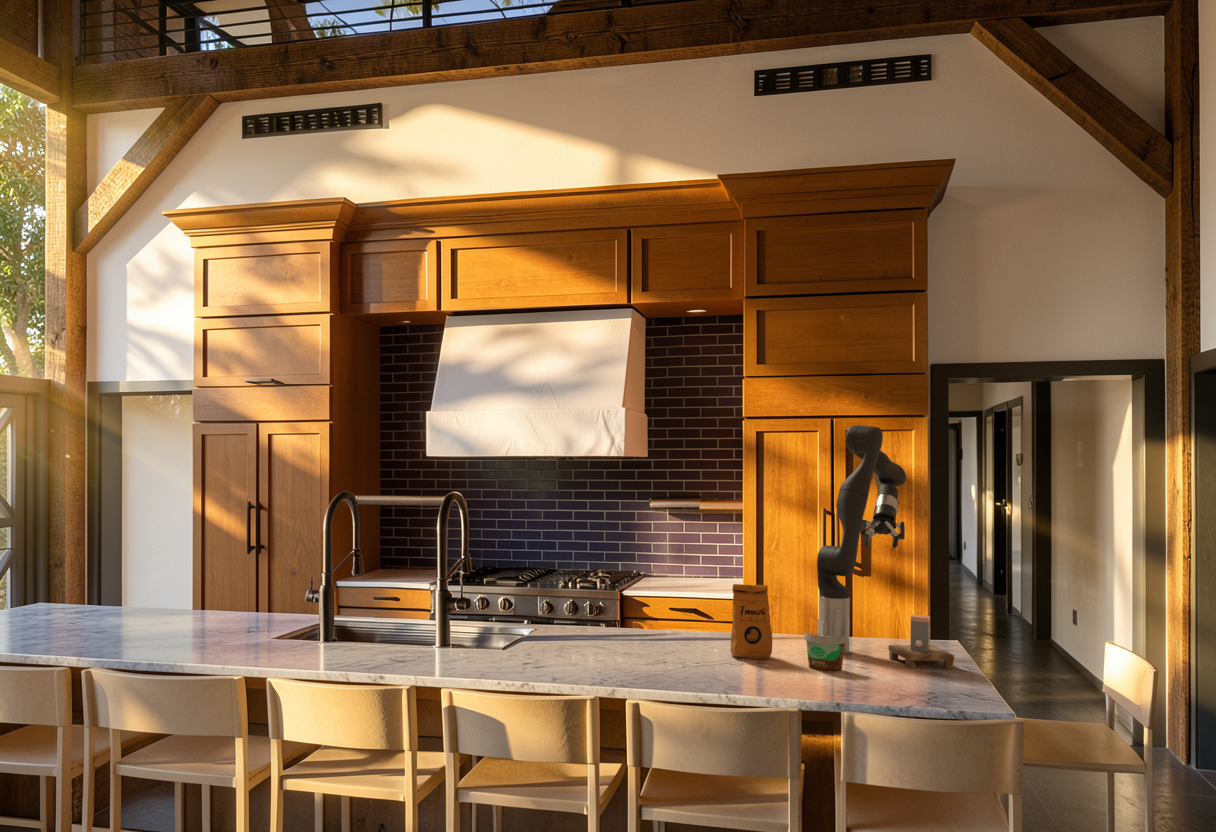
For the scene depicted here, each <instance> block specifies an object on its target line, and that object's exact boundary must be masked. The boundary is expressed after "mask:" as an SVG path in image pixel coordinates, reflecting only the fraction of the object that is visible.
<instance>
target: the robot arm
mask: <svg viewBox="0 0 1216 832" xmlns="http://www.w3.org/2000/svg"><path fill="white" fill-rule="evenodd" d="M883 438H884V435H883V430H882V429H881V428H880V427H878V426H874V425H873V426H870V425H858V424H857V425H852V426H849V428H848V429H847V430H846V434H845V440H844V441H845V445H846V448H847V449H848V450H849V451H850V452H851V453H852V454H854V455H855V456H857V457H858V458H859V459H860V460H861V461H860V463H859V465H858V466H857V467H856V468H855V470H854V471H853V472H851V474H850V475H848V476H847V477H846V479H845V480H843V482H842V483H841V485H840V487H839V490H838V494H837V495H838V496H837V499H836V503H835V504H836V505H835V506H836V507H835V508H836V512H837V514H838V518H839V521H840V524H841V527H842V538H841V543H840V546H838V545H827V544H826V545H823V546H821V548H819V550H818V553H817V557H816V558H817V559H816V569H817V570H816V571H817V572H816V573H817V574H816V575H817V576H816V577H817V587H818V590H819V618H818V619H817V621H816V624H817V625H816V626H817V628H816V629H817V630H816V631H817V632H816V635H829V636H833V637H837V636H844V635H845V637H846V639H847V643H845V645H844V654H843V655H846V654H850V610H851V609H850V608H851V607H850V603H851V602H850V600H851V599H850V598H851V596H850V595H851V594H850V588H848V587H847V586H845V585H844V584H842V583H841V582H840V580H839V579H838V577H848V576H849V577H850V576H851V575H852V573H853V572H854V570H855V567H856V563H857V558H858V557H857V556H858V550H859V549H858V548H859V541H860V540H859V539H860V537H861V538H864V542H863V543H864V546H866V548H868V547H870V541H871V538H872V537H876V535H885V536H886V535H890V537H891V538H892V549H896V548H898V545H899V540H903V541H904V540H905V536H906V535H905V534H906V533H905V531H906V526H905V522H904V521H901V522H900V523H899V522H898V523H897V522H896V521H897V515H898V498H899V489H898V488H897V487H900V486H903V485H904V484H905V483H906V481H907V474H906V471H905V470H904V468H903V467H902V466H901V465H899V464H897V463H895V462H894V461H892V460H891V459H890V458H889V456H888V455H887V454H886V453H885V452H883V451H882V445H883V441H884V439H883ZM873 475H874V479H875V483H876V488H877V493H876V494H877V495H876V499H875V503H874V509H873V516H872V519H871V521H867V520H866V519H864V515H865V511H866V508H867V504H868V499H869V494H870V489H871V484H872V480H873ZM896 528H898V531H899V532H900V533H898V532H897V531H896V530H895V529H896ZM867 529H868V530H867Z"/></svg>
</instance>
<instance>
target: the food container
mask: <svg viewBox="0 0 1216 832" xmlns="http://www.w3.org/2000/svg"><path fill="white" fill-rule="evenodd" d="M803 640H805V642H806V650H807V663H808V668H809V669H811V670H813V671H819V672H827V673H831V672H832V673H833V672H834V673H835V672H840V671H842V670H843V660H844V655H845V654H844V645H845V643H847V639H846V637H845V635H844V636H837V637H833V636H829V635H817V634H812V633H809V632H808V631H807V630H805V633H804V636H803Z"/></svg>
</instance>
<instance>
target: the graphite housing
mask: <svg viewBox="0 0 1216 832" xmlns="http://www.w3.org/2000/svg"><path fill="white" fill-rule="evenodd" d="M910 645H911V651H919V652H929V650H930V646H931V616H930V615H921V614H911V615H910Z"/></svg>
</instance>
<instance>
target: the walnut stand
mask: <svg viewBox="0 0 1216 832" xmlns="http://www.w3.org/2000/svg"><path fill="white" fill-rule="evenodd" d="M888 651H889V653H888V654H889V655H888V656H889V660H891V661H899V657H901V658H903V659H904V660H905V661H904V662H905V663H904V664H905V665H904V666H905V668H906V669H908V670H910V669H911V670H913V669H914V670H915V668H916V665H915V663H916V662H915V661H943V663H942V664H943V665H942V666H943V669H946V670H954V661H955V655H954V654H952V653H950V652H948V651H946V650H944V649H941V648H939V647H937V646H934V645H930V650H929V652H919V651H911V644H909V645H907V644H905V645H904V644H902V645H900V644H898V645H897V644H895V645H894V644H893V645H892V644H889V645H888Z"/></svg>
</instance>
